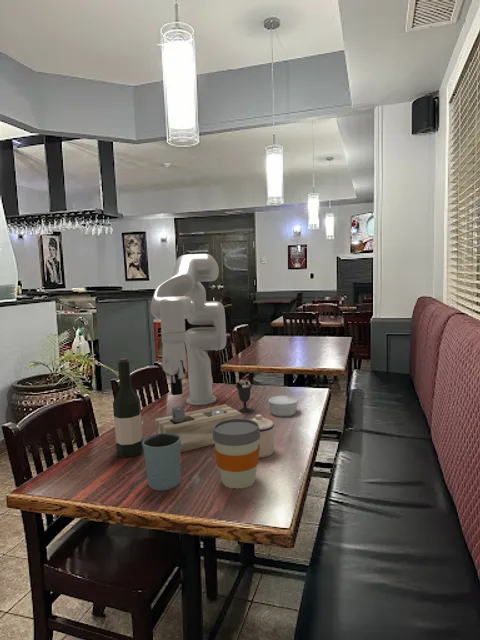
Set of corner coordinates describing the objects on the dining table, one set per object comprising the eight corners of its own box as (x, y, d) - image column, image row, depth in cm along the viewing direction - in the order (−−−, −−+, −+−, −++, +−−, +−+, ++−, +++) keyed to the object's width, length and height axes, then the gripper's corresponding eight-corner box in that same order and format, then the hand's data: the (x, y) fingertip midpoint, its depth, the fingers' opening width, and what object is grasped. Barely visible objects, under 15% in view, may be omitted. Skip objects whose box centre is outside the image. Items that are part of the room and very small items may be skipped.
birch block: (156, 442, 148) (155, 419, 147) (226, 426, 160) (225, 404, 159) (169, 455, 137) (167, 430, 136) (242, 436, 150) (241, 413, 149)
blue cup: (149, 495, 114) (146, 450, 112) (141, 478, 123) (138, 436, 121) (188, 485, 117) (185, 442, 116) (177, 470, 127) (175, 429, 125)
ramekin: (304, 413, 170) (303, 400, 170) (281, 420, 164) (281, 406, 164) (285, 406, 180) (285, 393, 179) (263, 412, 174) (262, 399, 173)
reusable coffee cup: (268, 487, 115) (266, 430, 113) (221, 496, 112) (218, 438, 110) (253, 466, 127) (251, 415, 125) (210, 474, 124) (207, 421, 122)
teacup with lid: (275, 446, 141) (274, 410, 139) (274, 458, 132) (273, 420, 130) (237, 445, 142) (235, 410, 141) (234, 458, 133) (232, 420, 132)
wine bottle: (148, 448, 143) (142, 356, 140) (134, 459, 135) (127, 362, 132) (126, 446, 146) (119, 355, 142) (111, 456, 138) (103, 361, 134)
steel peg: (211, 431, 153) (209, 410, 152) (221, 429, 155) (220, 408, 154) (216, 435, 149) (215, 413, 148) (226, 432, 151) (225, 411, 150)
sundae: (254, 407, 179) (252, 371, 178) (252, 413, 173) (251, 375, 171) (237, 407, 180) (236, 371, 178) (235, 413, 173) (234, 375, 172)
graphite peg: (171, 430, 146) (170, 408, 145) (183, 427, 148) (181, 405, 147) (176, 434, 142) (174, 411, 141) (187, 431, 144) (186, 409, 143)
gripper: (154, 336, 146) (158, 391, 148) (170, 341, 133) (174, 401, 134) (176, 333, 149) (179, 387, 151) (194, 338, 136) (197, 397, 138)
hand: (176, 394), depth 143 cm, fingers closed
